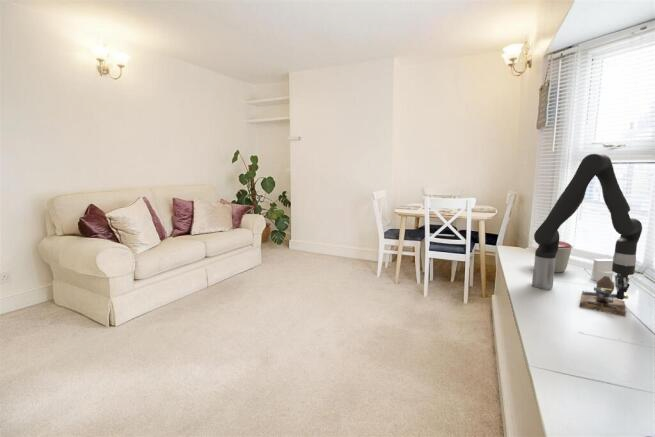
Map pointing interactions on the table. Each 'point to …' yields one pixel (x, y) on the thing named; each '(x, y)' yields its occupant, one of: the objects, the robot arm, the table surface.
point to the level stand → (603, 305)
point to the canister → (562, 256)
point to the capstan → (602, 295)
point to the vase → (605, 283)
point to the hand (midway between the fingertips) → (619, 298)
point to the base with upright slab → (602, 269)
